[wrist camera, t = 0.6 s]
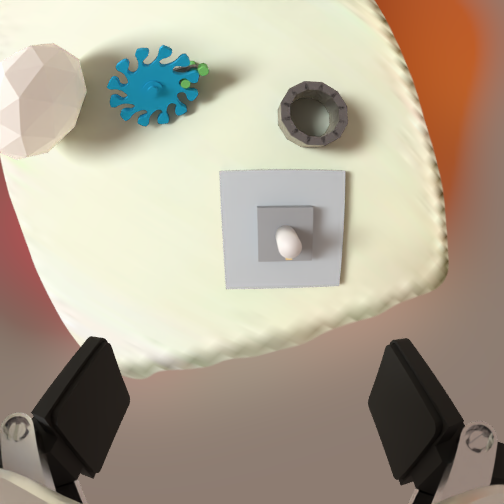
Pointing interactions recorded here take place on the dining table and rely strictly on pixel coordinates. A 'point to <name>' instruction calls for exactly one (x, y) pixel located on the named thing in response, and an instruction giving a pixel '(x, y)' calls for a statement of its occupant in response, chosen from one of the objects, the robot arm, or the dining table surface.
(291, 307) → the dining table surface
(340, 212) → the shaft stand
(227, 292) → the dining table surface
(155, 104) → the gear
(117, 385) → the robot arm
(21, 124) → the geometric sphere
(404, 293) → the dining table surface
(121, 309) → the dining table surface
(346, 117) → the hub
